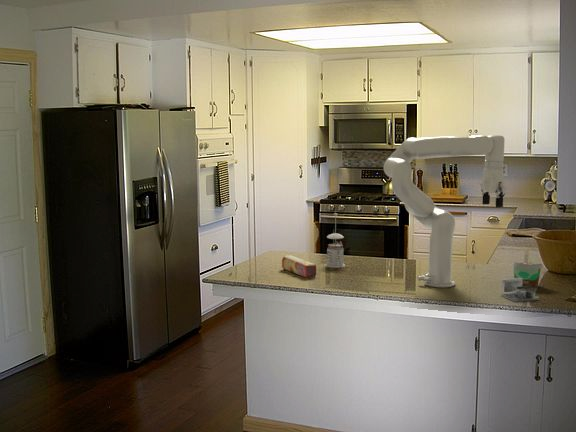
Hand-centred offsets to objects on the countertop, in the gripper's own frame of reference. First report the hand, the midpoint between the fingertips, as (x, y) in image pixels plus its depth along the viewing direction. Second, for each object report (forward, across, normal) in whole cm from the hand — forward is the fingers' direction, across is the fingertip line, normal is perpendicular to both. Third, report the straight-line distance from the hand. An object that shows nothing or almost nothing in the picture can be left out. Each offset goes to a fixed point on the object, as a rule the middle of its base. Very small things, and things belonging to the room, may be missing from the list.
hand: (492, 205), depth 300 cm
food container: (+33, +12, +10) cm, 36 cm away
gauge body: (+33, +26, -3) cm, 42 cm away
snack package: (+33, -40, -73) cm, 89 cm away
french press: (+33, -49, -51) cm, 78 cm away
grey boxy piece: (+32, +25, -3) cm, 40 cm away
